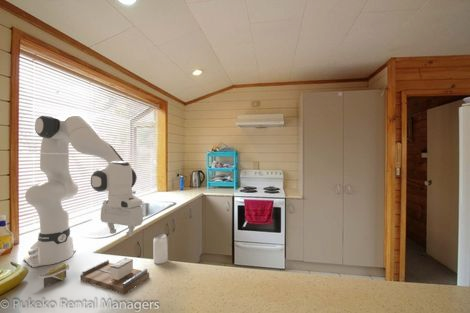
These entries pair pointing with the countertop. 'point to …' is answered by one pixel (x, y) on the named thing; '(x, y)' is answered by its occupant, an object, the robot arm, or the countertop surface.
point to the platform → (55, 274)
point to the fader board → (102, 278)
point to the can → (160, 249)
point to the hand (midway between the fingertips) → (121, 234)
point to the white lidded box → (121, 268)
